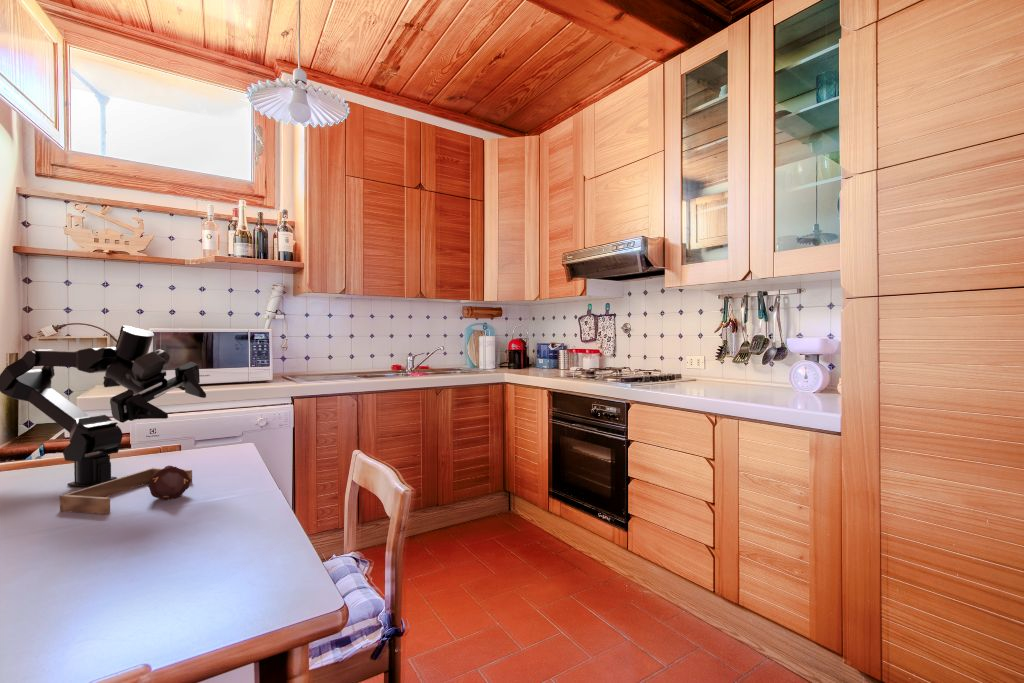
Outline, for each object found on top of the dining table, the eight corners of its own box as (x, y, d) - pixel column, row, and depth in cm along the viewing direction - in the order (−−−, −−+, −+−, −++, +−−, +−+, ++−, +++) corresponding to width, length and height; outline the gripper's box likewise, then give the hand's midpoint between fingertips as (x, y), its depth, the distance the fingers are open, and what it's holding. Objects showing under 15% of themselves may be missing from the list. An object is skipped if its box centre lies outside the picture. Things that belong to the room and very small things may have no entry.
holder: (60, 510, 95) (59, 495, 95) (152, 480, 115) (152, 467, 115) (106, 514, 93) (106, 499, 93) (192, 482, 114) (192, 469, 114)
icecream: (199, 472, 100) (189, 463, 111) (156, 469, 96) (150, 461, 107) (190, 506, 99) (180, 494, 110) (146, 505, 94) (141, 493, 105)
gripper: (83, 365, 98) (141, 397, 95) (171, 332, 114) (222, 359, 111) (91, 407, 104) (146, 439, 101) (174, 370, 120) (223, 396, 117)
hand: (187, 405), depth 107 cm, fingers open, 9 cm apart
